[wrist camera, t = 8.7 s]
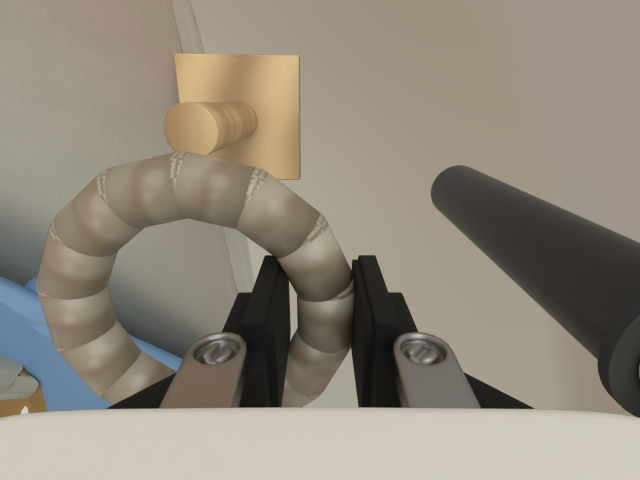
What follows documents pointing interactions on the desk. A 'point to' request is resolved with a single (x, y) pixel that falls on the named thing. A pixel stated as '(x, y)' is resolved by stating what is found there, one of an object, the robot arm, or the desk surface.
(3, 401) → the blue island diorama
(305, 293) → the segmented ring
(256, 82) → the post
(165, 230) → the desk surface
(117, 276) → the desk surface
